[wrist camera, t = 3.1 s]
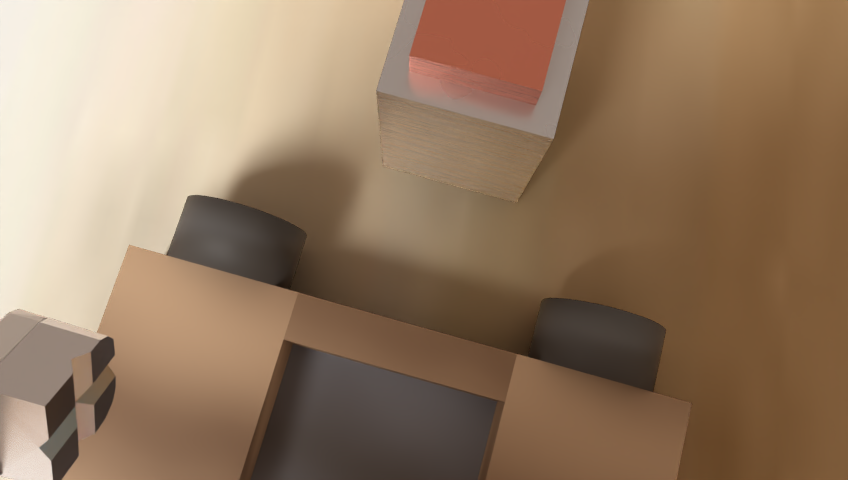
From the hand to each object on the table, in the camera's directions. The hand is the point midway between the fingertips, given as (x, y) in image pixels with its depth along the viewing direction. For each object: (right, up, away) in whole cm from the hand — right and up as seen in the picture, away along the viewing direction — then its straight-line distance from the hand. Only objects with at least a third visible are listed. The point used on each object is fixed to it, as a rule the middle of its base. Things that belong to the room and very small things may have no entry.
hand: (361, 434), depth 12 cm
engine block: (+3, +8, +16) cm, 18 cm away
